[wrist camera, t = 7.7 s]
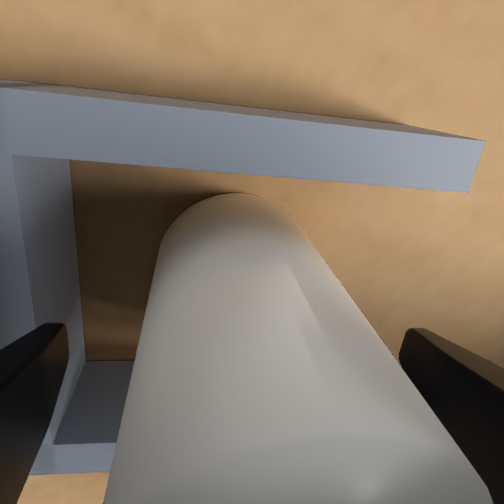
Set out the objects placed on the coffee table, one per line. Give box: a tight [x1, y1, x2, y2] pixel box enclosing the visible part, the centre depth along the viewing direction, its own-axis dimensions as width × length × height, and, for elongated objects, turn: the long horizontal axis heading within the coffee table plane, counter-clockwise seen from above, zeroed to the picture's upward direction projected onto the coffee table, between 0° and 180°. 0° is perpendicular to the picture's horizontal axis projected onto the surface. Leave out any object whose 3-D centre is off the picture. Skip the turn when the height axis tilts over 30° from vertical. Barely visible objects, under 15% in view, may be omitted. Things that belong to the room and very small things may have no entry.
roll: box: [103, 193, 493, 504], centre depth 9 cm, size 5×5×9 cm
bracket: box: [0, 80, 486, 475], centre depth 11 cm, size 12×10×4 cm
